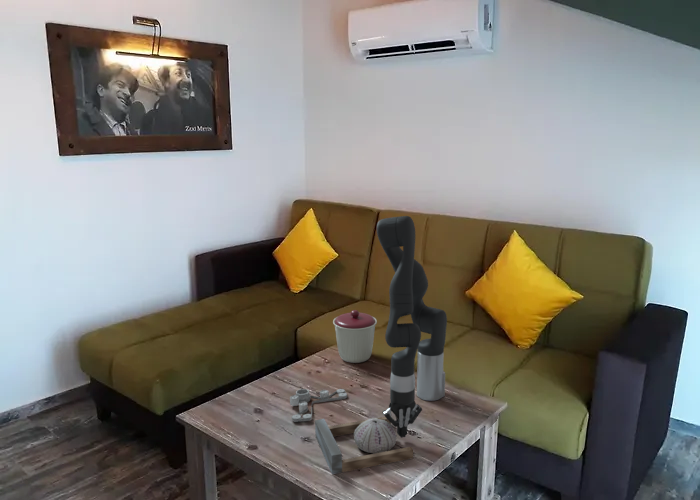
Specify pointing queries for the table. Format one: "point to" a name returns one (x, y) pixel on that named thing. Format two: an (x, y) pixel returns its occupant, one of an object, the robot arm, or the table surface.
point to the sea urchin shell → (375, 436)
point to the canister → (355, 336)
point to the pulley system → (304, 397)
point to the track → (338, 465)
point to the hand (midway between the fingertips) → (402, 436)
